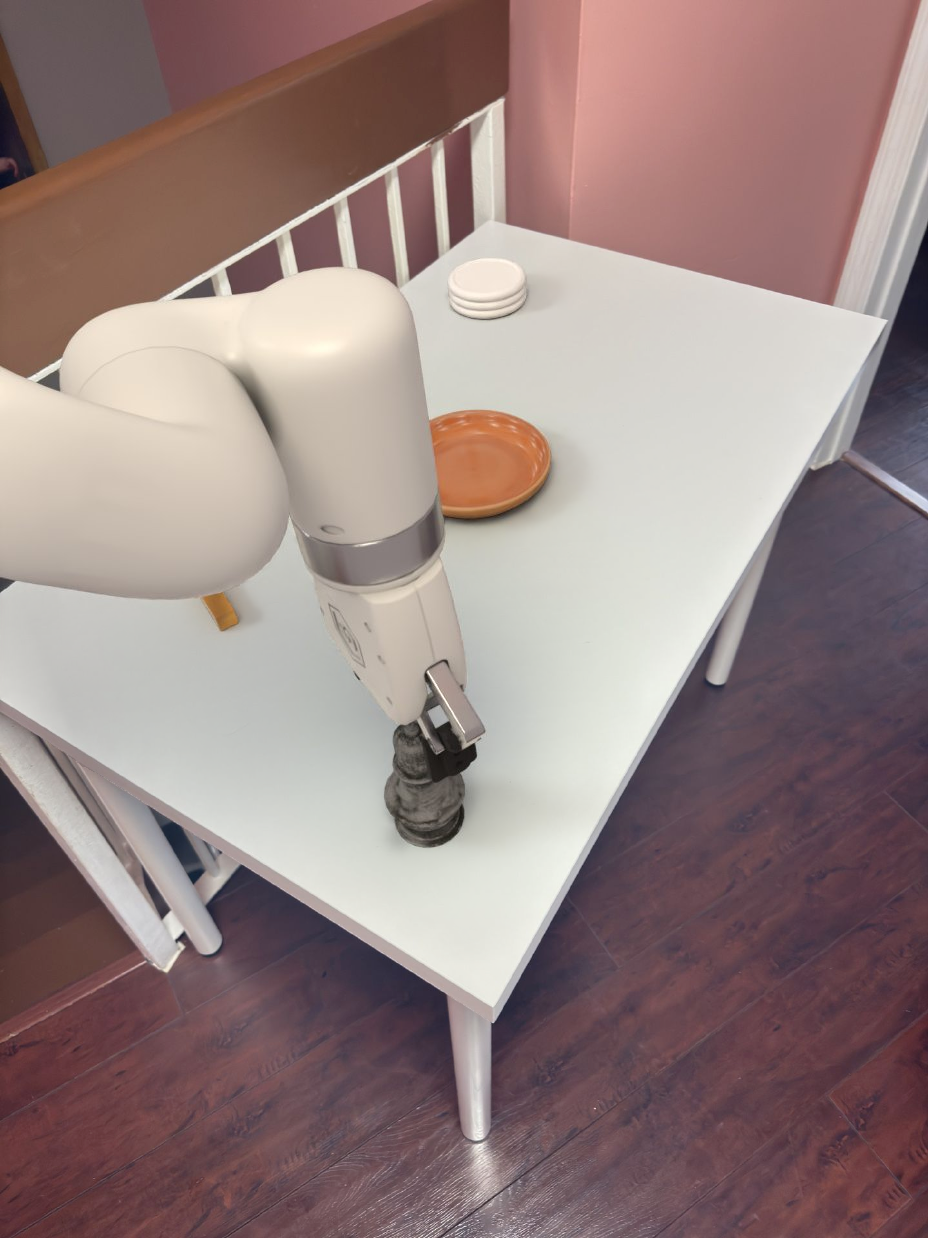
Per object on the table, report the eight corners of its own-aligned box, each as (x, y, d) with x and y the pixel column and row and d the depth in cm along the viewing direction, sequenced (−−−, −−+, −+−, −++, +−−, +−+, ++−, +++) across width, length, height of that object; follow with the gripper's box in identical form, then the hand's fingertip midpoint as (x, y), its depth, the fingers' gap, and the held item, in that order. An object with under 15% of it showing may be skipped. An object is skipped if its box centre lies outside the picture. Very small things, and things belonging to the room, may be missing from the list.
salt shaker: (435, 866, 65) (416, 776, 57) (374, 824, 68) (346, 732, 59) (484, 806, 68) (473, 712, 59) (423, 768, 71) (404, 673, 62)
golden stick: (221, 631, 82) (215, 618, 81) (168, 546, 91) (162, 533, 89) (239, 623, 83) (234, 609, 82) (185, 538, 91) (179, 525, 90)
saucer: (575, 505, 90) (575, 482, 88) (420, 548, 88) (417, 525, 85) (519, 417, 101) (518, 394, 98) (380, 453, 98) (376, 430, 96)
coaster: (441, 318, 116) (438, 293, 113) (459, 279, 122) (456, 254, 119) (519, 322, 114) (518, 296, 111) (532, 282, 120) (532, 256, 117)
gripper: (236, 465, 50) (304, 660, 63) (388, 661, 40) (433, 846, 53) (355, 413, 53) (397, 611, 65) (527, 586, 42) (538, 781, 55)
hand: (413, 716), depth 59 cm, fingers open, 9 cm apart
